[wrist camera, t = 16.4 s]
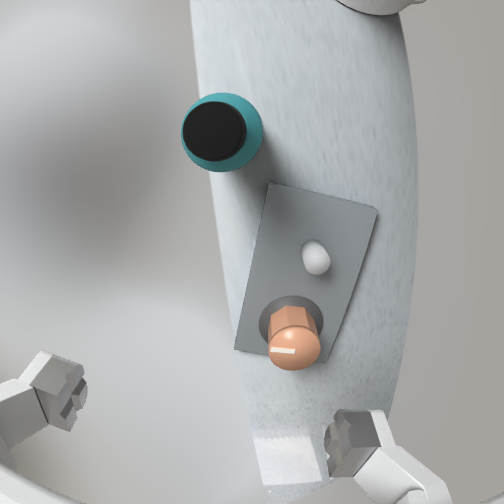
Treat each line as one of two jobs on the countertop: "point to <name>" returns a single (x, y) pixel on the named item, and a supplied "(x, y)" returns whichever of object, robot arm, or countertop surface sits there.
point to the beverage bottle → (222, 132)
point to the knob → (293, 338)
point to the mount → (304, 263)
